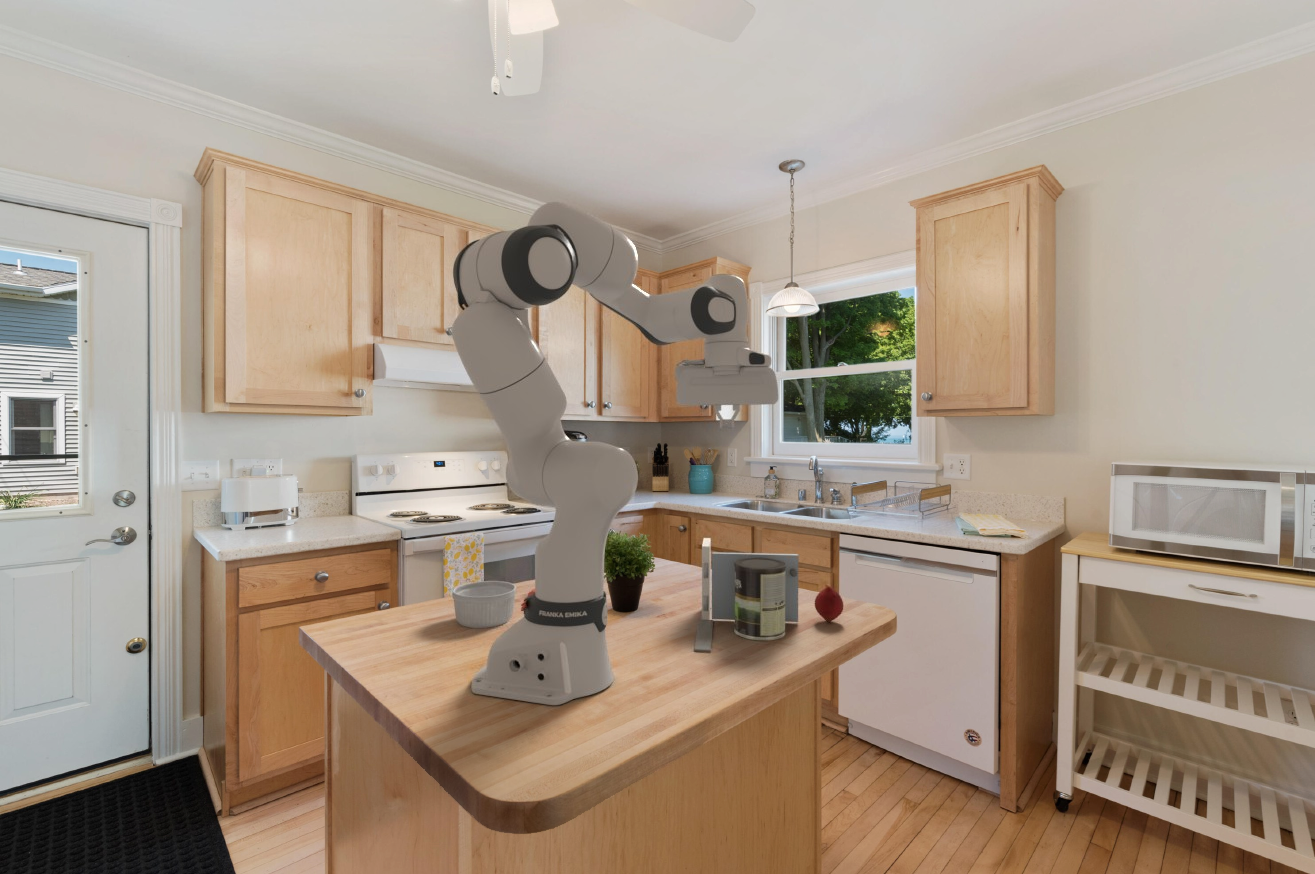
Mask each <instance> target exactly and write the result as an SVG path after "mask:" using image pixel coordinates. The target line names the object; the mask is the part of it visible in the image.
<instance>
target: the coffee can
mask: <svg viewBox="0 0 1315 874" xmlns="http://www.w3.org/2000/svg"><path fill="white" fill-rule="evenodd" d="M734 566H735V620H734V630H733V631H734V633H735V634H736V635H737V637H738V636H739V637H741V638H744V639H747V640H751V641H758V642H759V641H760V642H765V641H766V642H768V641H776V640H779V639H782V638H784V637H785V635H786V622H785V569H786V563H785V562H783V561H780V560H776V559H771V558H757V557H754V558H743V559H739V560H736V561H735V562H734Z"/></svg>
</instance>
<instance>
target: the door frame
mask: <svg viewBox="0 0 1315 874" xmlns="http://www.w3.org/2000/svg"><path fill="white" fill-rule="evenodd" d="M711 541H712V538H711V537H703V540H702V545H701V619H700V618H699V619H698V621H697V629H696V635H695V643H694V652H699V653H700V652H701V653H704V652H705V653H711V652H712V642H713V641H712V639H713V621H714V619H710V618H711V610H712V552H711V551H712V549H711V548H712V546H711V545H712V543H711Z"/></svg>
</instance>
